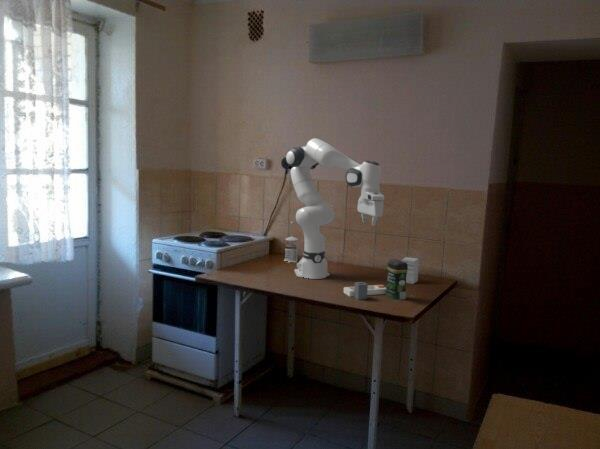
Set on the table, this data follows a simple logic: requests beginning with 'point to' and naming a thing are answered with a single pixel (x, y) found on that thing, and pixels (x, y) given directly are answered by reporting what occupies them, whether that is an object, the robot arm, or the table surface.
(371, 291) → the power strip
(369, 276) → the table surface
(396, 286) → the coffee jar
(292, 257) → the french press
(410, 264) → the supplement box
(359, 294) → the block
